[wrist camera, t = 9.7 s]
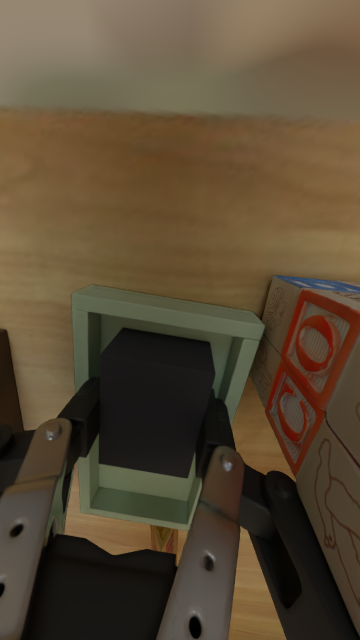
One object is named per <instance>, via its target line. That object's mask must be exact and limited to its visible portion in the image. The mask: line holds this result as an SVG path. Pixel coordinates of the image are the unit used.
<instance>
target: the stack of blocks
mask: <svg viewBox="0 0 360 640" xmlns="http://www.w3.org/2000/svg"><path fill="white" fill-rule="evenodd" d="M261 322H262V323H263V324H264V325H265V328H264V331H263V334H262V337H261V340H259V345H258V348H257V351H256V354H255V357H254V360H253V363H252V366H251V369H250V372H249V374H250V377H251V380H252V382H253V384H254V386H255V388H256V391H257V393H258V395H259V397H260V399H261V402H262V404H263V405H264V407H265V412H266V415H267V418H268V420H269V422H270V424H271V427H272V429H273V431H274V433H275V436H276V438H277V440H278V443H279V445H280V447H281V449H282V452H283V454H284V456H285V458H286V460H287V462H288V464H289V466H290V468H291V470H292V472H293V474H294V476H295V478H296V487H297V491H298V494H299V496H300V499H301V501H302V503H303V505H304V508H305V510H306V512H307V515H308V517H309V519H310V522H311V524H312V526H313V529H314V531H315V534H316V536H317V538H318V541H319V543H320V545H321V548H322V550H323V553H324V555H325V557H326V560H327V562H328V565H329V567H330V569H331V572H332V574H333V576H334V579H335V581H336V584H337V586H338V588H339V591H340V593H341V595H342V598H343V600H344V602H345V605H346V607H347V610H348V612H349V614H350V617H351V619H352V621H353V624H354V626H355V628H356V630H357V632H358V634H359V636H360V283H358V282H348V281H328V280H319V279H309V278H299V277H287V276H277V275H276V276H273V277H272V282H271V286H270V289H269V293H268V297H267V301H266V305H265V309H264V314H263V317H262V321H261Z"/></svg>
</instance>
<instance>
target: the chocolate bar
mask: <svg viewBox="0 0 360 640" xmlns="http://www.w3.org/2000/svg"><path fill="white" fill-rule="evenodd" d="M151 538H152V550H155V551H161V552H167V553H173V554H176V563H177V538H178V529H173V528H168V527H162V526H156V525H151Z"/></svg>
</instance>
